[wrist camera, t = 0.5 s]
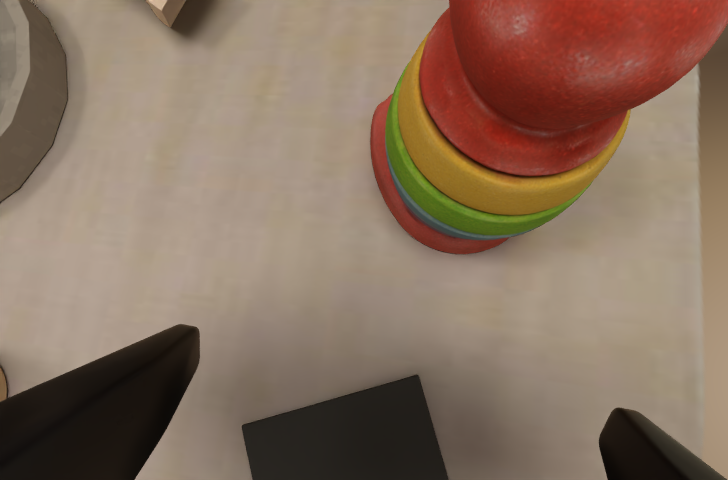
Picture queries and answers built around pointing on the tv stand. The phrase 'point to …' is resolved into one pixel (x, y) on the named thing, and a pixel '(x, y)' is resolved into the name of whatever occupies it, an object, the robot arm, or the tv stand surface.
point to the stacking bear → (523, 108)
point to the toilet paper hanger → (166, 9)
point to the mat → (350, 438)
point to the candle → (2, 386)
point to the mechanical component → (27, 90)
